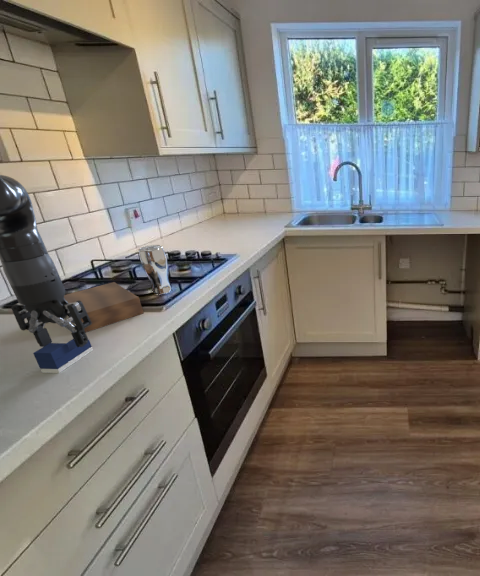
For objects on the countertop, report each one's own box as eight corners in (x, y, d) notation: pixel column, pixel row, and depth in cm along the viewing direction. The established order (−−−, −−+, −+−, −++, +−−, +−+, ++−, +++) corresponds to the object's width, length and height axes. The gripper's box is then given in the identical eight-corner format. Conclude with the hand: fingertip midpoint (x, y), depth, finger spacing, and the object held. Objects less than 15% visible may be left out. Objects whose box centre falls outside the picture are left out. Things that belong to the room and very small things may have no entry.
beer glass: (148, 292, 117) (135, 247, 112) (171, 286, 122) (160, 243, 116) (153, 298, 113) (139, 252, 107) (177, 292, 117) (165, 247, 111)
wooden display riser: (84, 332, 93) (77, 315, 91) (63, 312, 105) (57, 296, 103) (143, 313, 103) (138, 297, 101) (119, 296, 115) (114, 281, 113)
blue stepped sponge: (59, 373, 77) (50, 353, 75) (41, 372, 77) (32, 352, 75) (93, 350, 85) (86, 331, 83) (77, 349, 86) (69, 331, 84)
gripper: (-18, 285, 71) (18, 354, 77) (50, 284, 70) (81, 354, 76) (19, 271, 78) (50, 336, 84) (82, 270, 77) (108, 336, 83)
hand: (65, 345), depth 80 cm, fingers open, 8 cm apart
